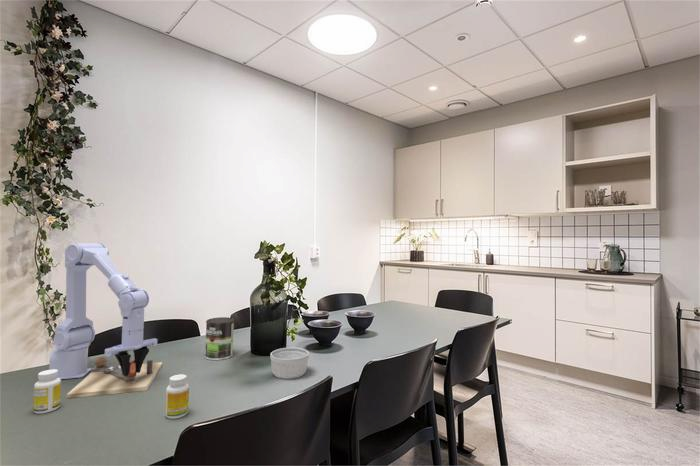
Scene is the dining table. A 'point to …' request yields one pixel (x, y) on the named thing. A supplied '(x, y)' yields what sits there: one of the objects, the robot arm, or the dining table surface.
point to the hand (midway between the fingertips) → (131, 373)
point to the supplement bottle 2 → (177, 397)
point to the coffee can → (219, 338)
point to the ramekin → (289, 362)
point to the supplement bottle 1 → (47, 392)
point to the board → (114, 381)
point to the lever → (117, 371)
